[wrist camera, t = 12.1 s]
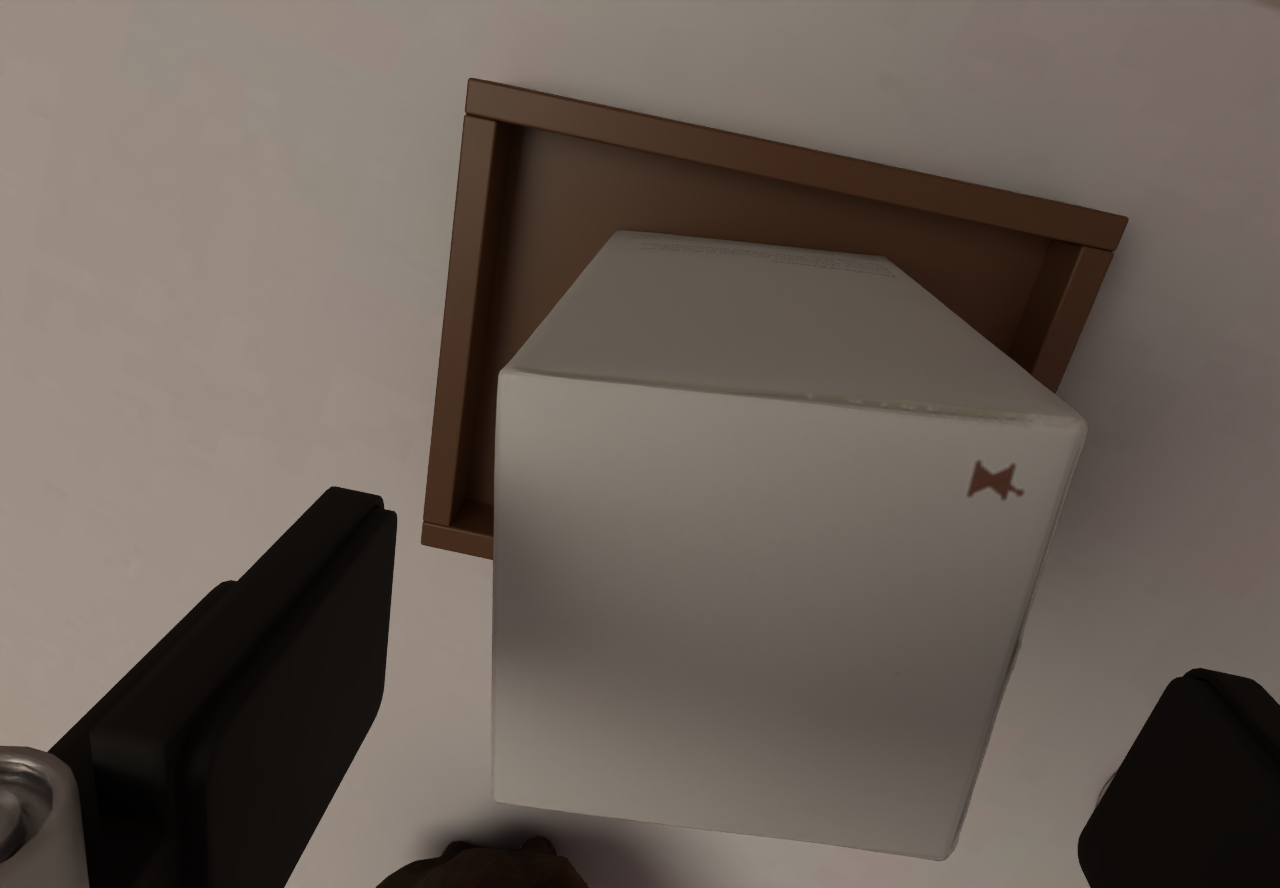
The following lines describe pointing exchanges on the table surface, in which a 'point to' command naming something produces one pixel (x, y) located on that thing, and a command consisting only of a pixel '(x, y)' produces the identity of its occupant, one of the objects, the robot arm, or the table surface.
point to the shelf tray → (717, 209)
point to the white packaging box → (763, 545)
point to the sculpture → (489, 869)
